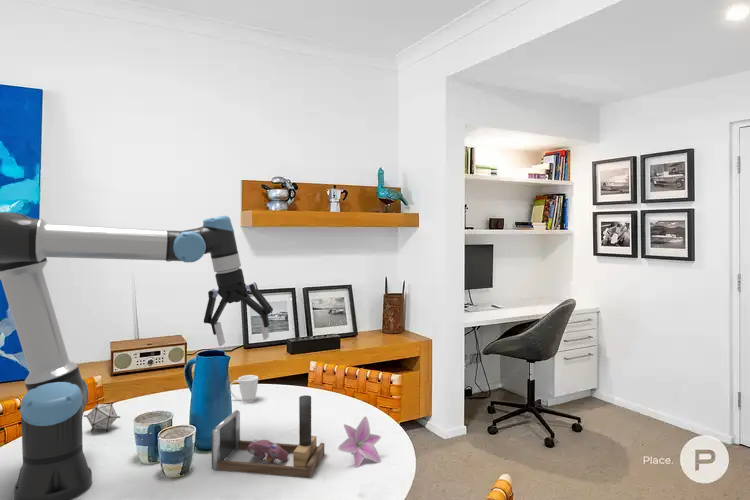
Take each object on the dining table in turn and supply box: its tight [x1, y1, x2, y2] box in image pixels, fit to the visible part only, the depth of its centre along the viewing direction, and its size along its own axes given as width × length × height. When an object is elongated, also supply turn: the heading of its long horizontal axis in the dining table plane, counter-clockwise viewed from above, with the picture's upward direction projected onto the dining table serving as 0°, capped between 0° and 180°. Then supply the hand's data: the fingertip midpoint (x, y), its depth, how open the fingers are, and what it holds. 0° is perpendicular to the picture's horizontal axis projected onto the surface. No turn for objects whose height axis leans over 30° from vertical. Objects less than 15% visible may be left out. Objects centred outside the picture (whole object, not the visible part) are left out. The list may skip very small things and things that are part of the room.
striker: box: [292, 394, 318, 467], centre depth 130 cm, size 10×3×17 cm, turn 171°
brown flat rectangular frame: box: [217, 439, 325, 479], centre depth 132 cm, size 13×24×3 cm, turn 81°
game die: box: [83, 401, 121, 433], centre depth 152 cm, size 9×8×10 cm
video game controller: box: [246, 439, 289, 464], centre depth 132 cm, size 10×5×7 cm, turn 69°
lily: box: [337, 415, 382, 468], centre depth 133 cm, size 12×12×10 cm
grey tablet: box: [210, 409, 241, 471], centre depth 133 cm, size 14×2×11 cm, turn 171°
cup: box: [230, 374, 259, 404], centre depth 177 cm, size 7×10×8 cm
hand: (244, 341), depth 148 cm, fingers open, 13 cm apart
